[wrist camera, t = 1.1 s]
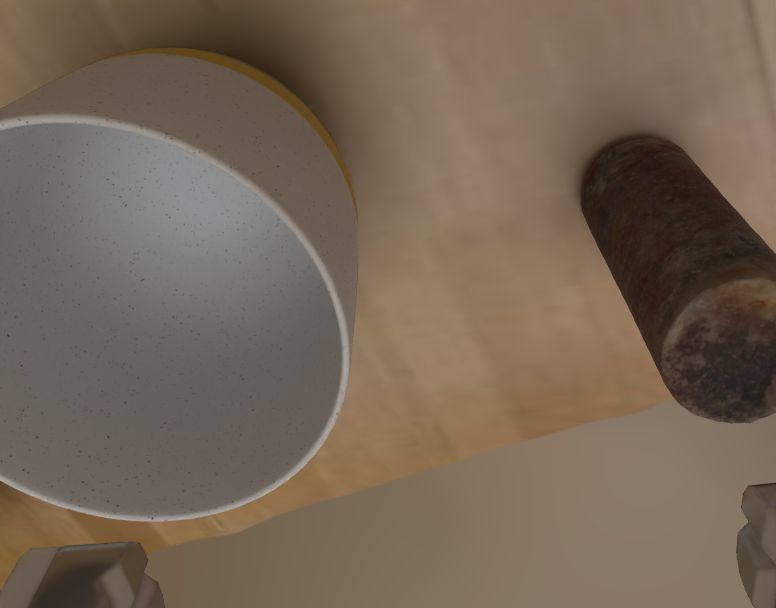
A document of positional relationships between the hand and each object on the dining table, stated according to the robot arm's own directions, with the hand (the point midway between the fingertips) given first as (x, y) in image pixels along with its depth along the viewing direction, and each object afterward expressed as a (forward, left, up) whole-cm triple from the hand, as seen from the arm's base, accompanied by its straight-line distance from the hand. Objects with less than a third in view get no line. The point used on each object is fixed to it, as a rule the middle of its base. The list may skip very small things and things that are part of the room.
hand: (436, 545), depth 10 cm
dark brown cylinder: (+9, +15, -39) cm, 43 cm away
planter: (+10, -12, -39) cm, 42 cm away
